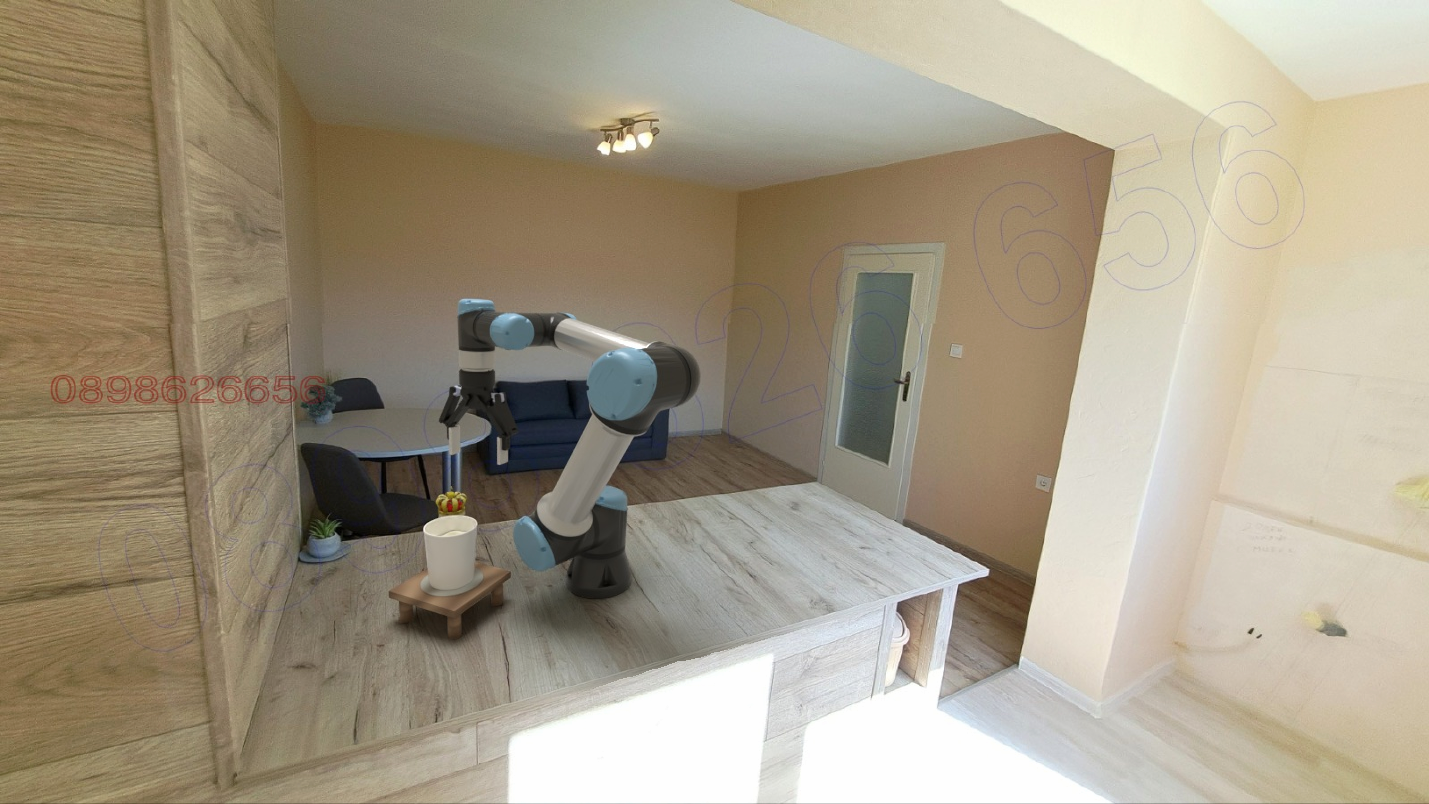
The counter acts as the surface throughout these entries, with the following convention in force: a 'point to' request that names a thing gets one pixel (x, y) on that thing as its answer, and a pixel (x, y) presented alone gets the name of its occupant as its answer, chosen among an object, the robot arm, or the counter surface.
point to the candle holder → (450, 551)
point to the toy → (451, 504)
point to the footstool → (450, 595)
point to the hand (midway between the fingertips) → (478, 458)
